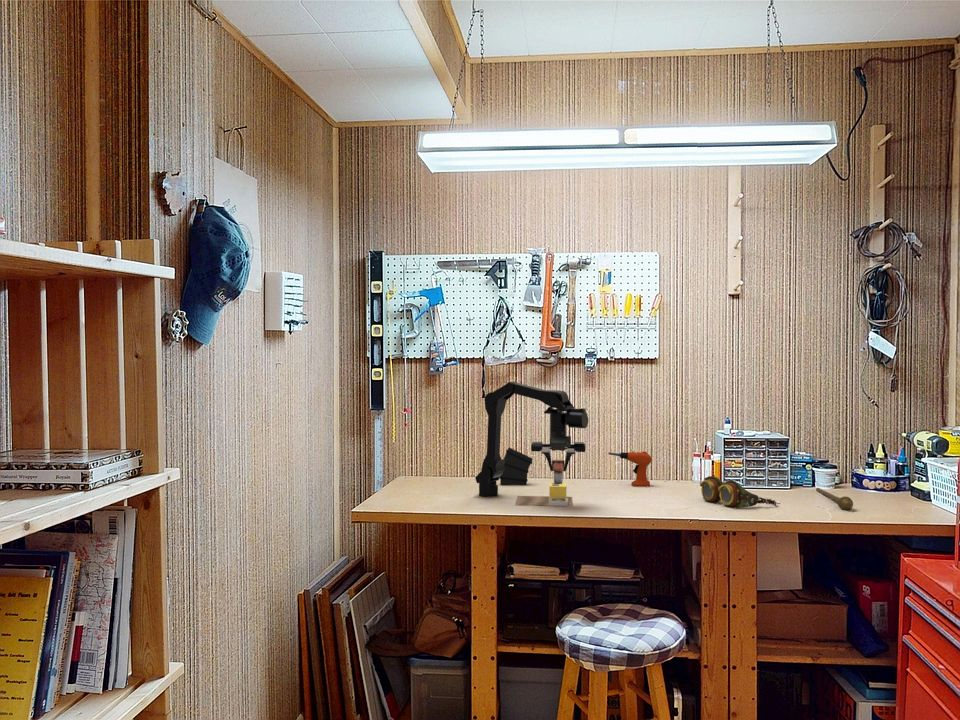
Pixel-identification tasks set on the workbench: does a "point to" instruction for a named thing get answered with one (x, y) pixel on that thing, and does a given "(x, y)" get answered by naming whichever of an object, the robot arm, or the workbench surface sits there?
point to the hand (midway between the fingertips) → (558, 471)
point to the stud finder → (558, 490)
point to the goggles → (729, 493)
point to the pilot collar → (558, 501)
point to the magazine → (515, 468)
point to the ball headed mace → (838, 500)
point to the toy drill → (638, 466)
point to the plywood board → (537, 501)
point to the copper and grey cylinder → (558, 470)
